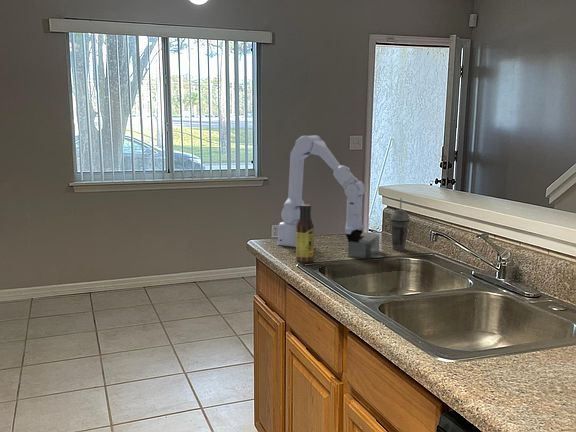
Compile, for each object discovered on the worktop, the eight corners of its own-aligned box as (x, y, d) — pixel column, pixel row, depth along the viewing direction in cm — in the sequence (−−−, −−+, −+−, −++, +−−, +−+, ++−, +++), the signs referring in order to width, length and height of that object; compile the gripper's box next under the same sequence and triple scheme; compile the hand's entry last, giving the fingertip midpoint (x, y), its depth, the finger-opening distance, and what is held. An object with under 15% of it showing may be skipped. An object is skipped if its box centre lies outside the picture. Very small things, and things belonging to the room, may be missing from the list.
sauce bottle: (311, 263, 193) (312, 206, 190) (294, 262, 195) (294, 206, 191) (314, 258, 200) (315, 204, 196) (297, 258, 201) (298, 203, 198)
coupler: (348, 256, 203) (348, 239, 202) (358, 249, 215) (359, 232, 214) (369, 258, 200) (370, 241, 199) (379, 251, 212) (379, 234, 211)
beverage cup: (407, 247, 219) (409, 196, 215) (409, 251, 211) (411, 199, 208) (388, 246, 219) (390, 196, 216) (389, 251, 212) (391, 199, 209)
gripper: (358, 217, 199) (357, 254, 201) (370, 211, 212) (368, 246, 214) (340, 216, 202) (339, 252, 204) (352, 210, 215) (351, 244, 217)
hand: (353, 249), depth 209 cm, fingers closed, pressing on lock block
